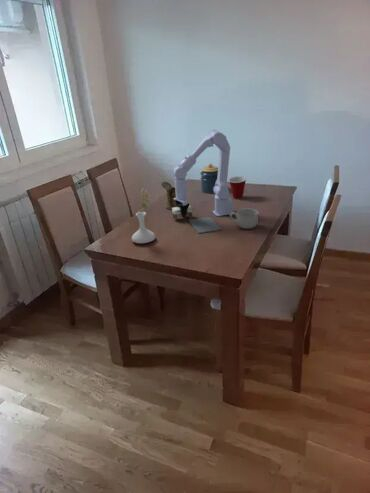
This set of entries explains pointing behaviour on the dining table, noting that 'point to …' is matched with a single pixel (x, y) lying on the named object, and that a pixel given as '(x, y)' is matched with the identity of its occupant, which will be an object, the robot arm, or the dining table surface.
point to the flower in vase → (143, 233)
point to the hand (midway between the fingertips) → (182, 213)
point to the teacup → (246, 218)
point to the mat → (204, 225)
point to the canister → (208, 178)
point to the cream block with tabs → (177, 211)
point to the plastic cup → (237, 186)
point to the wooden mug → (169, 195)
